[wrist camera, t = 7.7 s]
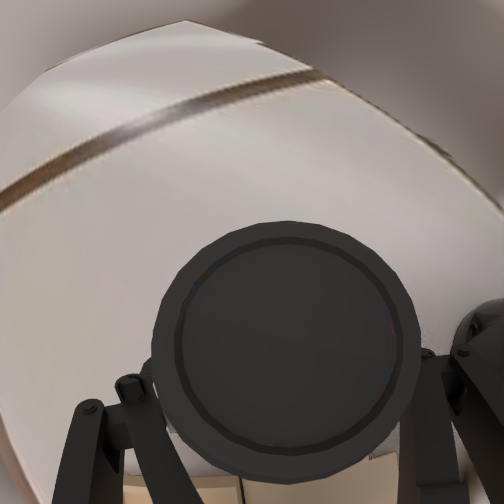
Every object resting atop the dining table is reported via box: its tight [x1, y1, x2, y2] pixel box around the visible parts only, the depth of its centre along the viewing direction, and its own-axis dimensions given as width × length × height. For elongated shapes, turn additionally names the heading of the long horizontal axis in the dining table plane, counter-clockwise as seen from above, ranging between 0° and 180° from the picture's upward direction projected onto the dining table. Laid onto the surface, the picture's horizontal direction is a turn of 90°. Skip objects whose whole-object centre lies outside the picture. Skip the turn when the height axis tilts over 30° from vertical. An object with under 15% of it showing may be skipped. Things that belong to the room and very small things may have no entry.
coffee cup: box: [151, 221, 421, 485], centre depth 14 cm, size 8×8×15 cm
